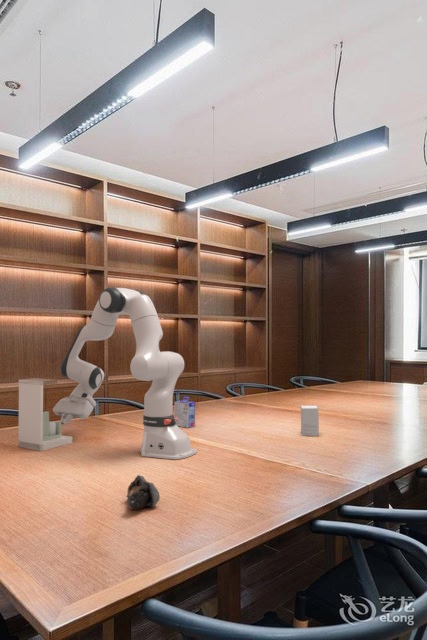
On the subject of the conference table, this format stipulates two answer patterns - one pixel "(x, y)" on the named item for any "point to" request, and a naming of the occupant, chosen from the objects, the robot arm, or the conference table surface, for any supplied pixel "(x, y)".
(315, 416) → the supplement box
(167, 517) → the conference table surface
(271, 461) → the conference table surface
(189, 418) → the ink cartridge box
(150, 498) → the bison figurine
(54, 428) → the glass caddy
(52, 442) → the white c-shaped upright piece
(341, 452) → the conference table surface
